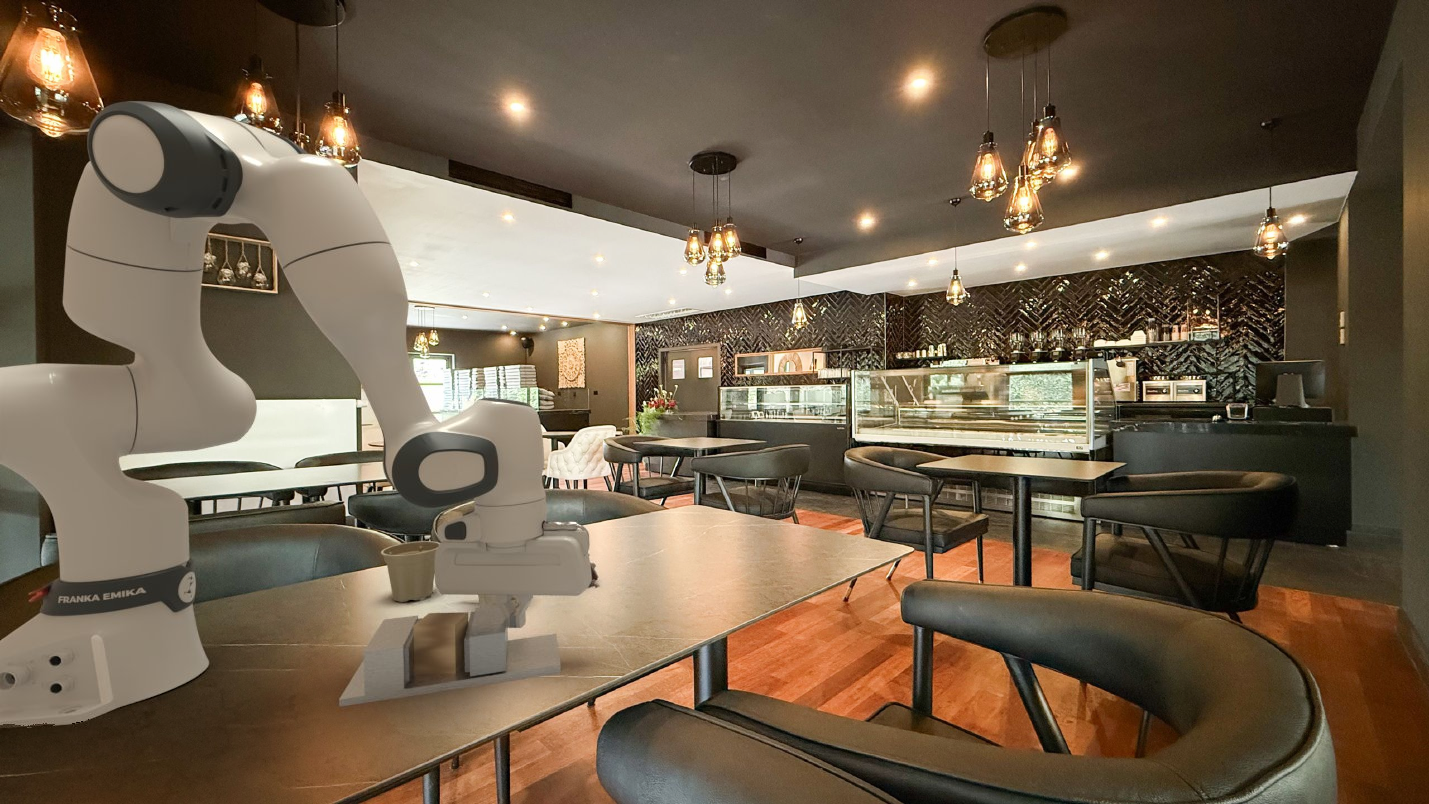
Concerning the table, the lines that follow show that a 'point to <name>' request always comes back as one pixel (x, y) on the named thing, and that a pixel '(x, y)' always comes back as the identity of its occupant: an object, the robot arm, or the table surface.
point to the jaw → (486, 641)
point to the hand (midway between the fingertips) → (515, 626)
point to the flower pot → (411, 569)
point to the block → (440, 643)
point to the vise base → (394, 677)
